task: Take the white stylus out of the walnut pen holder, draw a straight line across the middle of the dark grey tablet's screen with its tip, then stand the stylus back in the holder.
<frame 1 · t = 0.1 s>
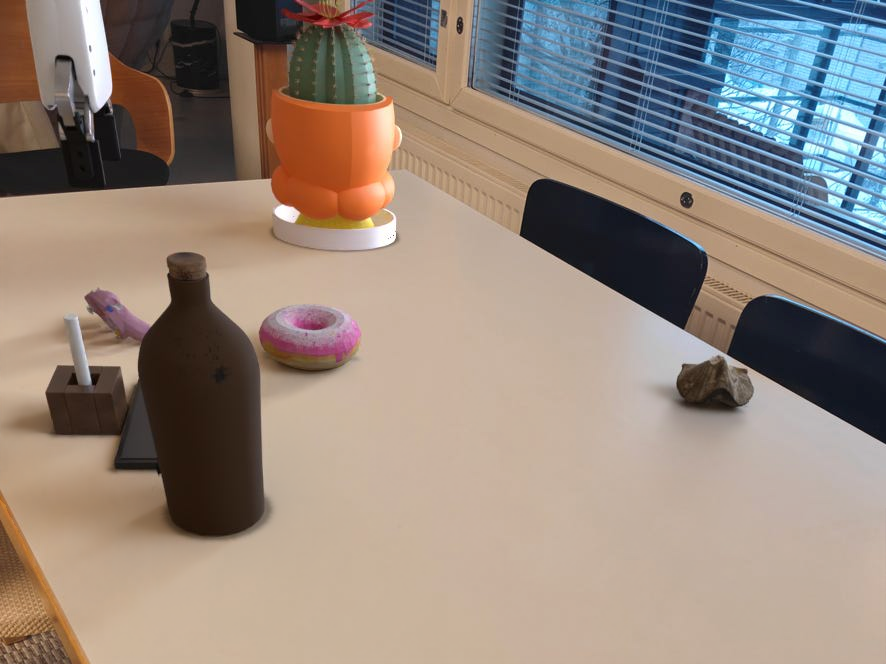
hand: (96, 172, 87), 26 cm above the table, tool pointing down, fingers open, 9 cm apart
fossilized seashell: (709, 401, 121), on the table
tablet: (178, 424, 103), on the table
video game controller: (122, 335, 120), on the table
potted cactus: (337, 239, 156), on the table
stylus: (82, 370, 98), in the pen holder
donut: (312, 355, 120), on the table
rum bottle: (217, 511, 91), on the table
pen holder: (92, 419, 102), on the table
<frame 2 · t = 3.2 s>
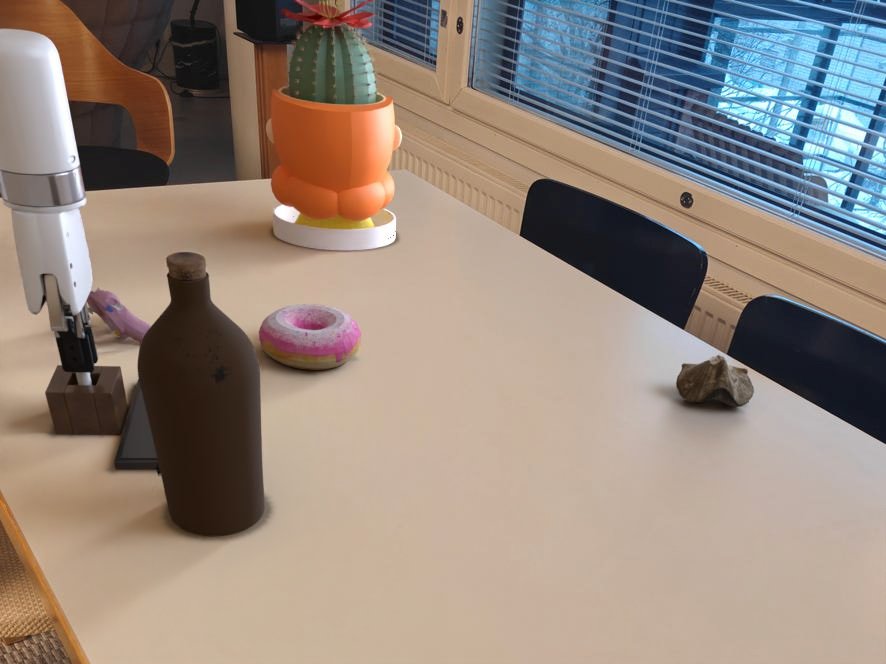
hand: (81, 365, 98), 7 cm above the table, tool pointing down, fingers closed on stylus, 1 cm apart
stylus: (82, 370, 98), in the pen holder, touching gripper
everything else where it was.
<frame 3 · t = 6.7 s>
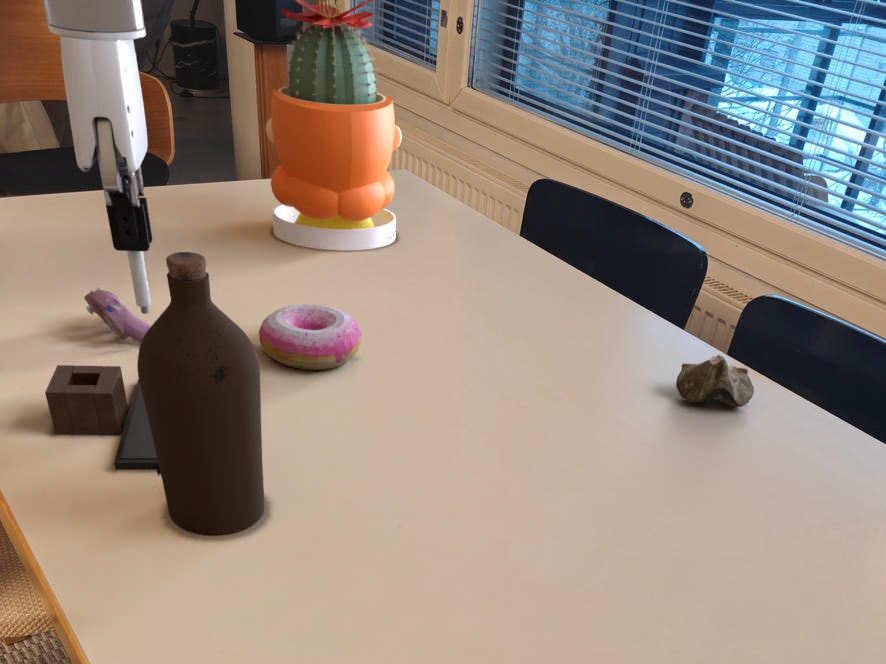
hand: (133, 244, 85), 22 cm above the table, tool pointing down, fingers closed on stylus, 1 cm apart
stylus: (134, 250, 85), point 21 cm above the table, touching gripper
everything else where it was.
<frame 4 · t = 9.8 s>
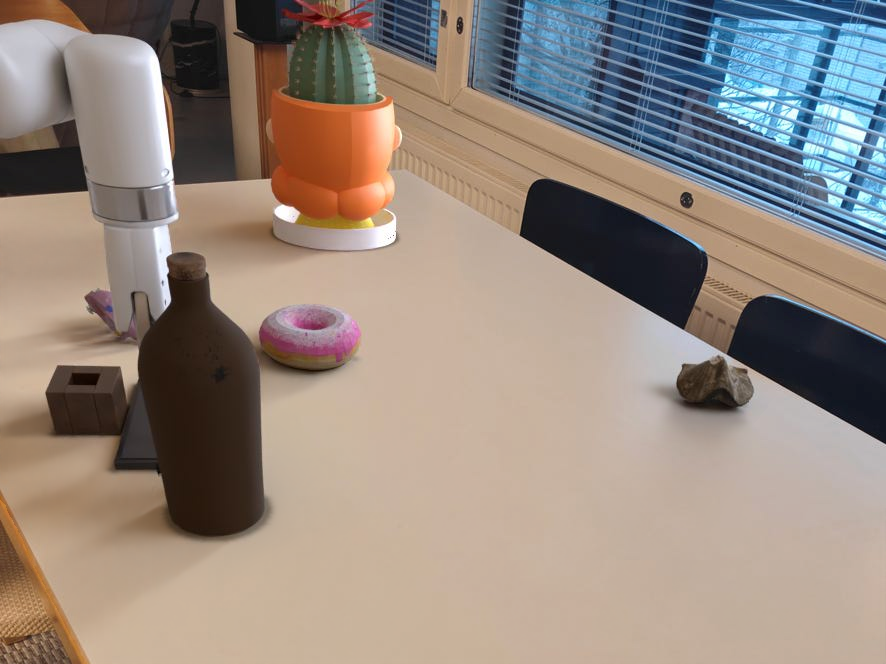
hand: (162, 385, 93), 8 cm above the table, tool pointing down, fingers closed on stylus, 1 cm apart
stylus: (163, 390, 94), point 7 cm above the table, touching gripper
everything else where it was.
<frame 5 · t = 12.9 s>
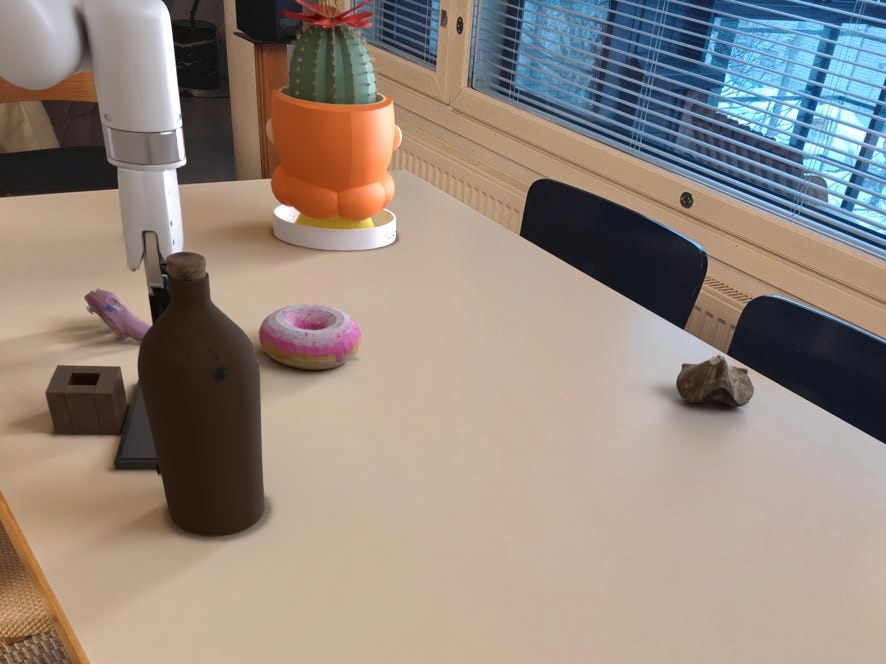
hand: (169, 325, 100), 10 cm above the table, tool pointing down, fingers closed on stylus, 1 cm apart
stylus: (170, 329, 101), point 9 cm above the table, touching gripper
everything else where it was.
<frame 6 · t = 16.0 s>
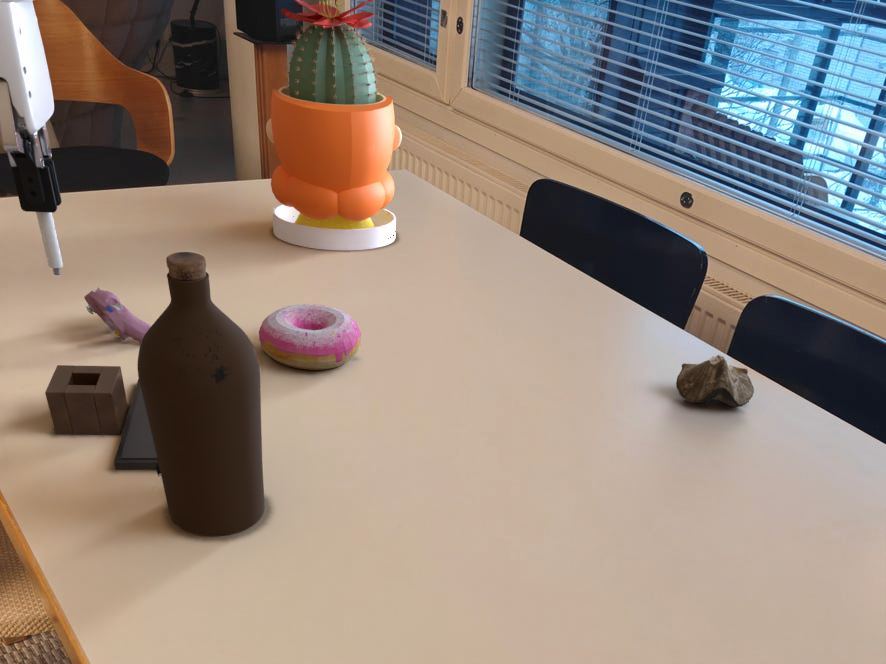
hand: (42, 206, 87), 23 cm above the table, tool pointing down, fingers closed on stylus, 1 cm apart
stylus: (43, 211, 87), point 22 cm above the table, touching gripper
everything else where it was.
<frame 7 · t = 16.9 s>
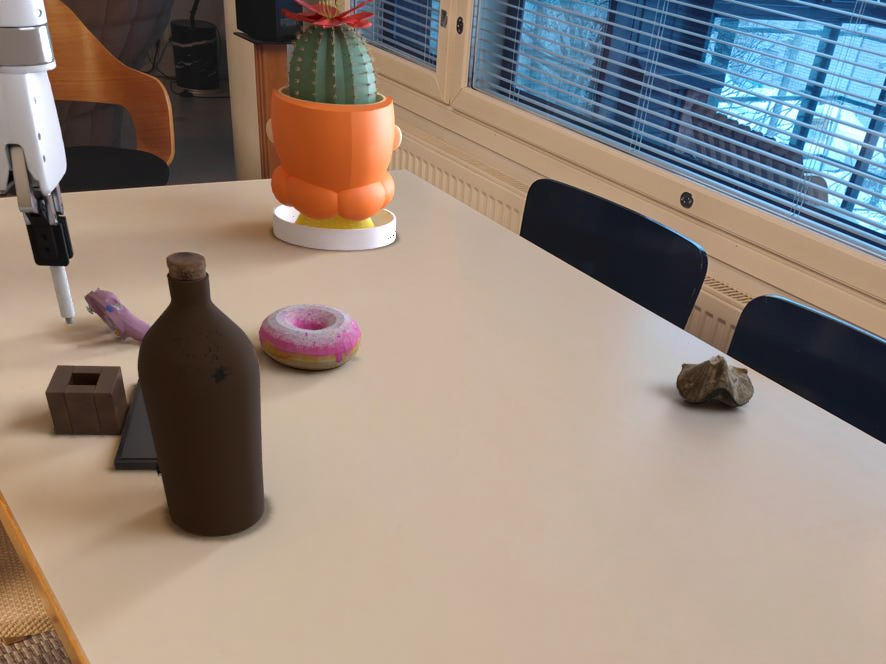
hand: (55, 260, 90), 18 cm above the table, tool pointing down, fingers closed on stylus, 1 cm apart
stylus: (56, 265, 91), point 17 cm above the table, touching gripper
everything else where it was.
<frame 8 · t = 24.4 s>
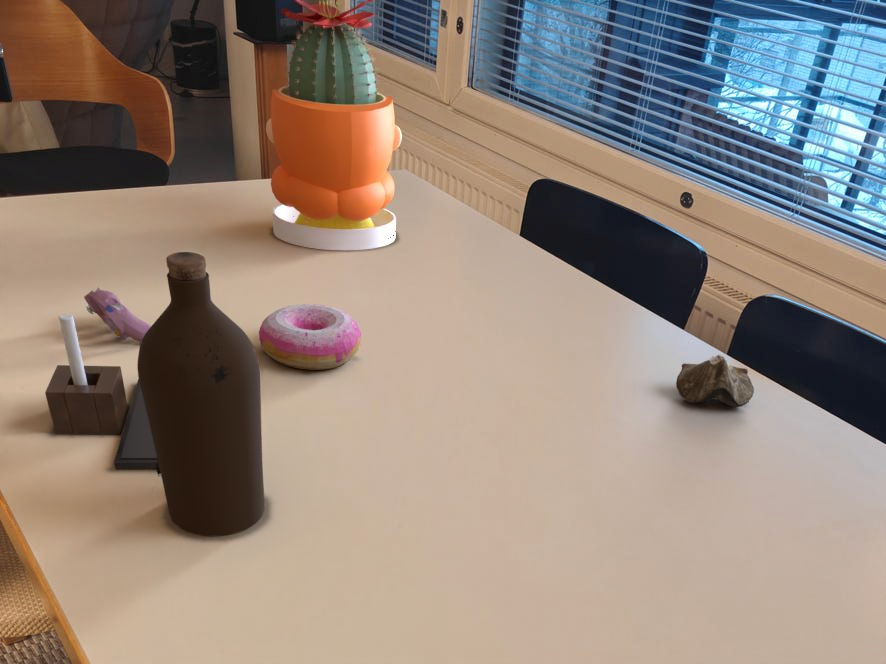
stylus: (77, 370, 98), in the pen holder
everything else where it was.
at the end: stylus 0.5 cm off-centre in the pen holder, point 6.0 cm above the pen holder's base; stylus tilted 0°; the gripper is holding nothing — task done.
